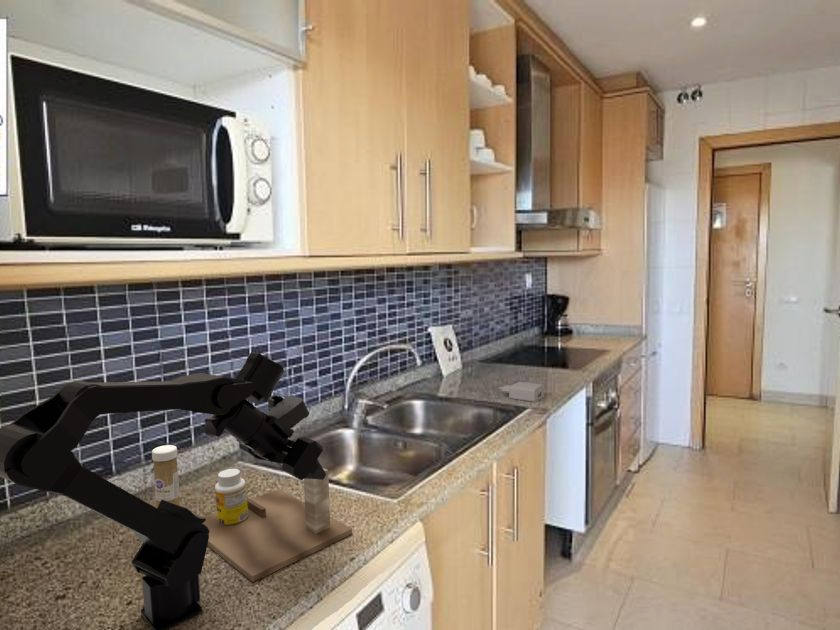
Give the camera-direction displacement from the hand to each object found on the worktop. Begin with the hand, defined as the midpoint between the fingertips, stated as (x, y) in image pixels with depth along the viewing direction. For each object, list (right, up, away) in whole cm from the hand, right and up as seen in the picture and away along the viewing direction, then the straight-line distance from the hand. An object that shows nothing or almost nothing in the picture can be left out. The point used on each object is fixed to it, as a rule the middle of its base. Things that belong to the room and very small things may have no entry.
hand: (309, 469), depth 98 cm
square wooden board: (-8, -12, +3) cm, 15 cm away
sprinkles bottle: (-31, -12, +11) cm, 35 cm away
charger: (+55, -1, +94) cm, 109 cm away
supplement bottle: (-16, -12, +6) cm, 21 cm away
